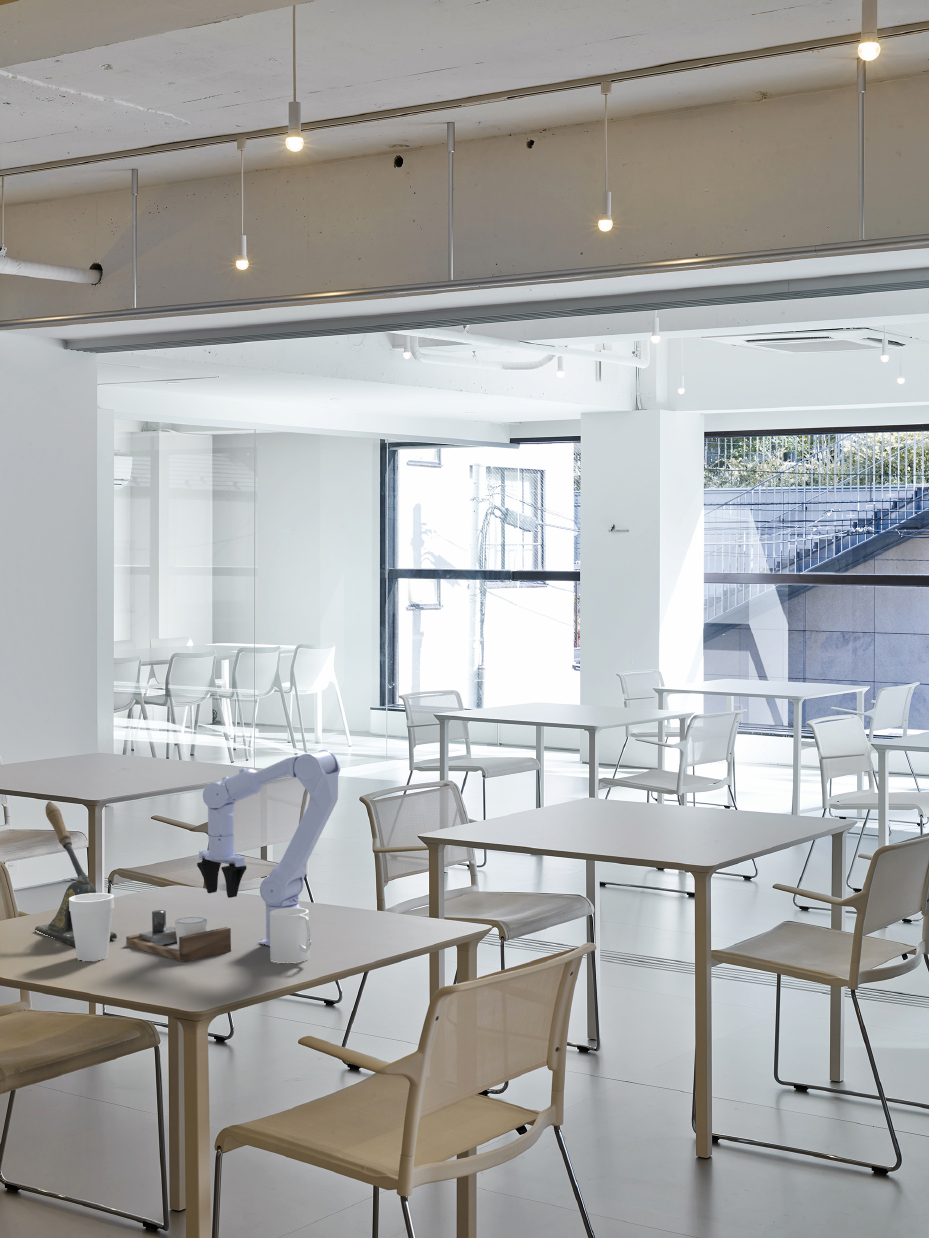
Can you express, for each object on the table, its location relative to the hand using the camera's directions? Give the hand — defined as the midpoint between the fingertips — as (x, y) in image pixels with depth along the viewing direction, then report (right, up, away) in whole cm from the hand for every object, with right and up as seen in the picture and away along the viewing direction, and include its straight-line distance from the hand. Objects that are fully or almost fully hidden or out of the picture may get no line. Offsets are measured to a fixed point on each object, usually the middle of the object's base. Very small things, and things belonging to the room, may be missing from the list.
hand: (222, 894), depth 317 cm
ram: (-13, -10, -4) cm, 17 cm away
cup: (+19, -10, -21) cm, 30 cm away
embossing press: (-35, -11, +5) cm, 37 cm away
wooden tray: (-8, -10, -9) cm, 16 cm away
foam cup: (-25, -11, -16) cm, 31 cm away
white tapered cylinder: (-5, -10, -12) cm, 16 cm away
